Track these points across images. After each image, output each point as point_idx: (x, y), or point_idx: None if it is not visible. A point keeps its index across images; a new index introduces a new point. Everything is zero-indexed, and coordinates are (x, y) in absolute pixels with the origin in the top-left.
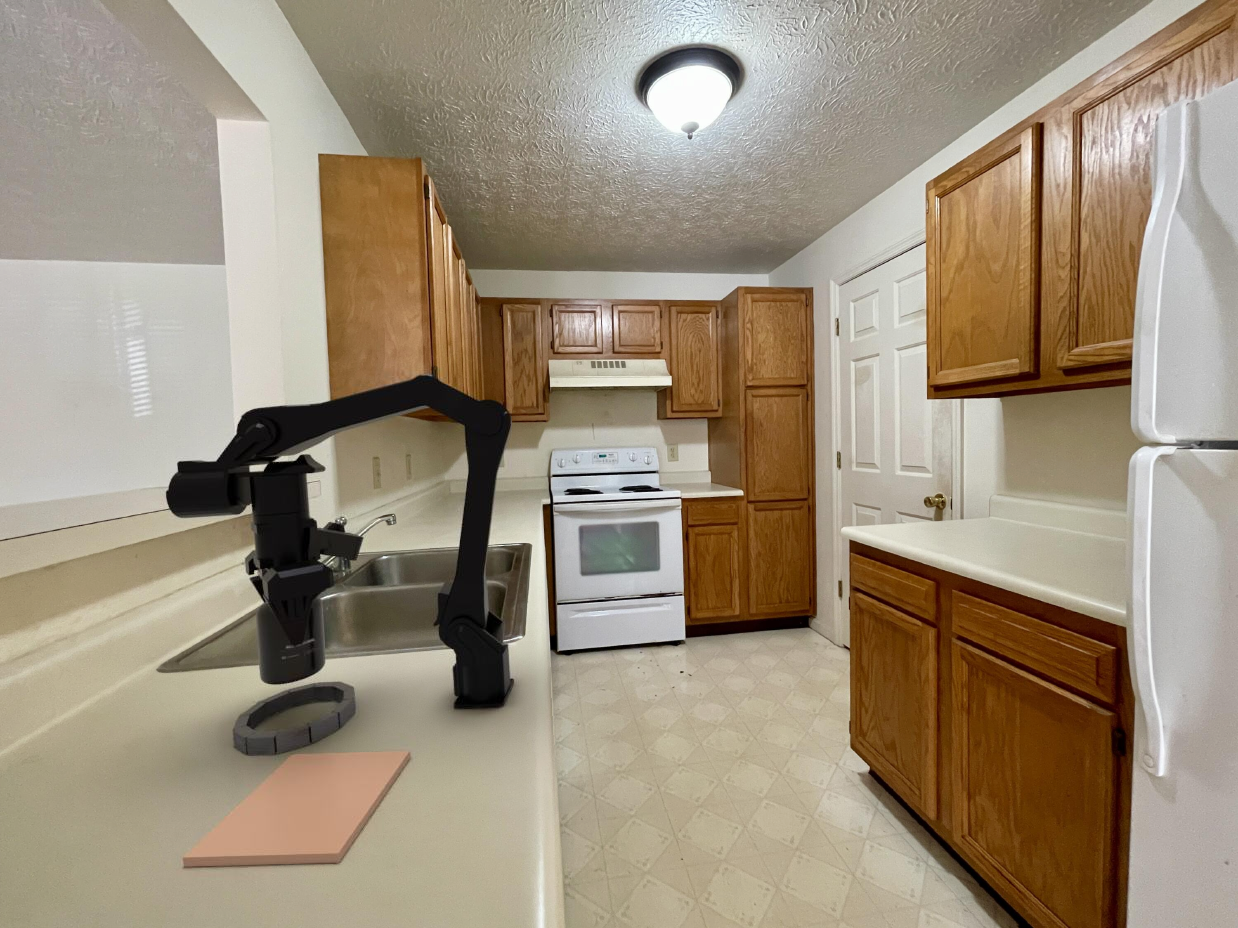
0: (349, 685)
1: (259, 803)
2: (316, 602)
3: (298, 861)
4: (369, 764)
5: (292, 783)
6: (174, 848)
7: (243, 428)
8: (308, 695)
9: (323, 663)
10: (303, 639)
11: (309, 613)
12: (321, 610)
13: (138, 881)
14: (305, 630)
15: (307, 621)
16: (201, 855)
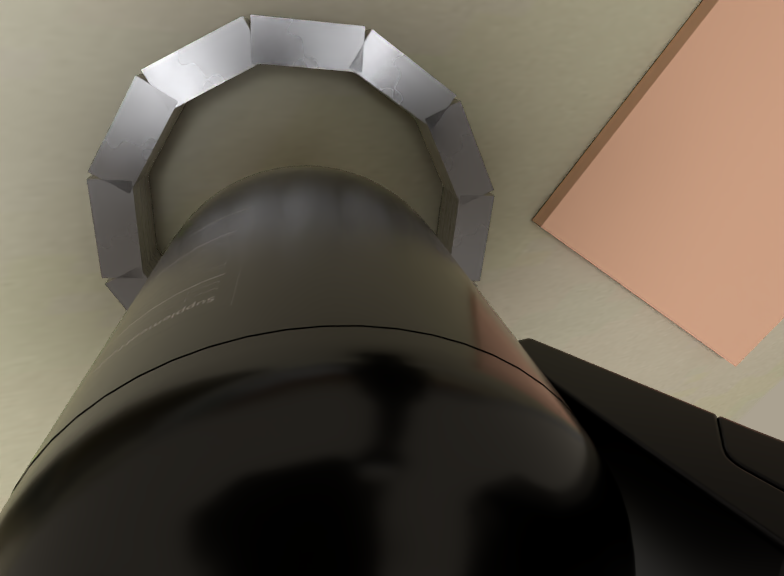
0: (214, 34)
1: (689, 275)
2: (512, 429)
3: None
4: (764, 27)
5: (677, 218)
6: (660, 381)
7: None
8: (142, 198)
9: (364, 177)
10: (545, 347)
11: (761, 435)
12: (413, 312)
13: (698, 404)
14: (605, 370)
15: (675, 400)
16: (757, 341)
